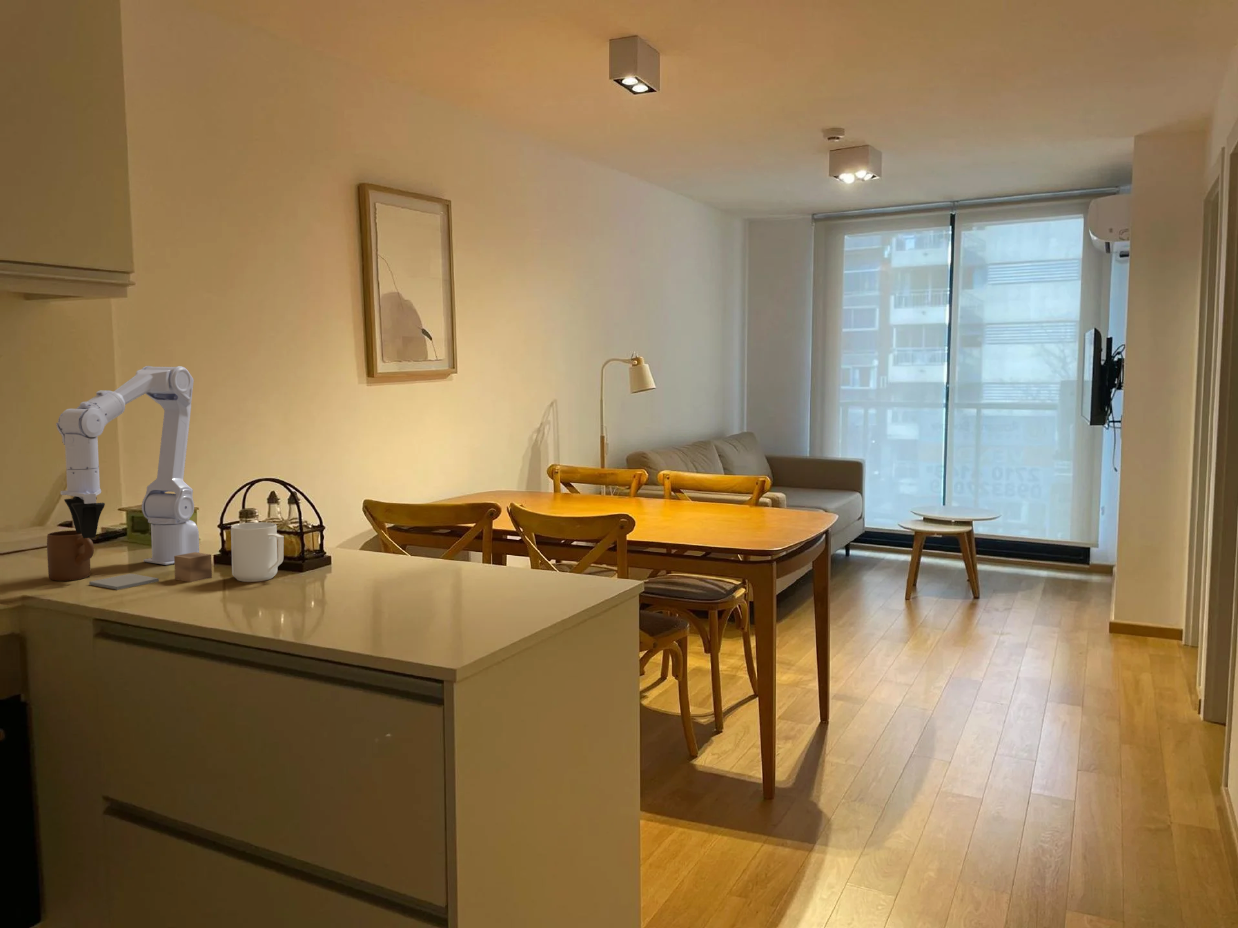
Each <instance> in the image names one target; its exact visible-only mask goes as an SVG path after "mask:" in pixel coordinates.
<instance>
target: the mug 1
mask: <svg viewBox="0 0 1238 928" xmlns="http://www.w3.org/2000/svg"><path fill="white" fill-rule="evenodd" d="M94 551H95V545H94V542H93V540H92V538H83V536H82V533H77V532H76V529H75V530H74V529H73V530H61V531H53V532H49V533H47V535H46V554H47V557H46V558H47V568H48V569H47V570H48V571H47V572H48V578H49V579H50V580H52V581H57V582H67V581H76V580H81V579H83V580H84V579H86V578H88V577H89V576H90V575H91V559H92V557H93V555H94Z"/></svg>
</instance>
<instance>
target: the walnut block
mask: <svg viewBox="0 0 1238 928" xmlns="http://www.w3.org/2000/svg"><path fill="white" fill-rule="evenodd" d="M173 564H174V579H175V580H177V581H183V582H188V583H192V582H198V581H202V580H207V579H211V578H213V574H212V573H213V568H212V567H213V565H212V554H211V553H204V552H199V553H198V552H193V553H188V554H183V555H177V556H174V563H173Z"/></svg>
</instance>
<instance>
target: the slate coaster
mask: <svg viewBox="0 0 1238 928" xmlns="http://www.w3.org/2000/svg"><path fill="white" fill-rule="evenodd" d="M159 579H160V578H158V577H153V576H148V575H147V576H146V575H141V574H137V573H127V574H121V575H117V576H111V577H105V578H102V579H96V580H92V581H91V580H90V581H88V583H89V586H95V587H101V588H104V589H105V588H107V589H111V590H116V591H118V590H123V589H127V588H132V587H138V586H142V585H147V584H152V583H156V582H157V583H159V582H160V581H159Z"/></svg>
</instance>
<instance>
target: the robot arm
mask: <svg viewBox="0 0 1238 928" xmlns="http://www.w3.org/2000/svg"><path fill="white" fill-rule="evenodd" d="M194 382H195V381H194V377H193V376H192V374H191V373H190V371H189V370H188V369H187V368H186V367H185V366H181V365H178V366H151V365H145V366H143V367H142V368H141V369H138V370H136V371H135V375H134V376H133V377H131V378H130V379H128V380H127V381H126V382H124V383H123V384H121V385H120V386H119V387H118V388H116V389H115V390H114V391H112V390H105V389H104V390H103V389H102V390H101V389H100V390H98V391H96V392H95V394H96V395H95V396H92V398H90V399H88V400H86V401H82V402H80V403H79V406H77V407H76V408H66V409H65V410H63V412H62V413H60V415H59V417H58V420H57V422H56V423H55V425H56V429H57V431H58V432H59V434H60V435H61V441H62V443H63V445H64V449H65V451H64V452H65V454H64V455H65V469H66V471H65V472H66V490H60V493H59V494H60V495H61V496H70V497H72V498H65V499H64V503H65V504H66V505H67V507H68V509H69V512H70V515H71V518H72V522H73V526H74V529H75V530H76V532H77V533H82V536H83V538H90V539H92V538H94V539H95V538H96V536H97V533H98V532H97V531H98V525H99V521H100V516H101V514H102V512H103V509H104V508H105V506H106V503H105V502H97V496H98V495H100V494H101V493H102V489H101V487H100V486H101V482H100V464H99V463H100V462H99V461H100V459H99V442H98V441H99V439H98V438H99V437H100V436H101V435H102V434H103V433H104V430H105V427H106V425H108V424H109V423H110V422H111V421H113V420H114V419H116V418H118V417H120V416H121V415H123V413H124V412H125V410H126V405H127V404H129V403H131V402H133V401H134V400H137V399H138V398H140V397H142V396H144V395H146V396H148V397H149V398H150V399H151V400H152V401H154V402H155V403H156V404H158V405H159V406H161V408H162V409H163V411H164V412H163V421H162V430H161V438H160V448H159V455H158V456H159V457H158V466H157V474H156V478H155V479H154V480H153V481H152V482H151V483H150V484H148V485H147V487H146V491H145V496H144V497H143V499H142V501H141V502H142V503H141V512H142V514H143V516H144V518H146V519H147V523H149V524H150V530H151V531H150V534H151V537H150V538H151V557H149V558H144V559H143V562H144V563H145V562H146V563H149V564H155V565H156V564H158V565H163V566H167V565H173V564H174V556H177V555H183V554H188V553H193V552H198V553H200V533H199V528H198V526H197V524H196V522H195V521H193V520H192V519H191V518H192V516H193V514H194V511H195V502H194V499H193V498H194V497H193V493H194V489H193V488H192V487H191V486H190V485H188V484H187V483H186V482H185V481H184V477H185V468H186V467H185V466H186V457H187V450H188V449H187V448H188V440H189V433H190V432H189V429H190V423H191V422H190V420H191V411H192V401H193V388H194ZM167 492H168V493H167ZM169 492H171V493H169Z"/></svg>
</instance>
